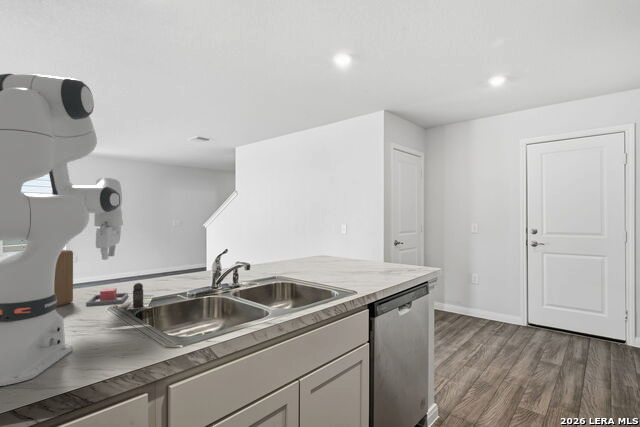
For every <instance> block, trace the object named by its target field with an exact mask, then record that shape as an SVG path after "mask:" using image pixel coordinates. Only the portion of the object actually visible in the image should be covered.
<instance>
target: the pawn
mask: <svg viewBox="0 0 640 427" xmlns="http://www.w3.org/2000/svg"><path fill="white" fill-rule="evenodd" d="M143 288H144V286H143V284H142V283H140V282H137V283H135V284H134V285H133V289H132V301H133V308H139V309H142V308H141V307H143V295H144V289H143Z"/></svg>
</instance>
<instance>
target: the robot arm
mask: <svg viewBox="0 0 640 427" xmlns="http://www.w3.org/2000/svg"><path fill="white" fill-rule="evenodd" d="M94 104H95V101H94V97H93V94H92V91H91V89H90V88H89V86H88V85H87V84H86V83H84V82H83V80H82V81H81V80H79V79H77V78H76V79H75V78H71V77H59V76H51V75H42V74H36V73H32V74H31V73H25V74H24V73H21V74H19V73H18V74H13V73H3V74H2V73H1V74H0V241H17V240H18V241H20V240H26V241H27V243H26V245H25V246H24V248H23V249H22V250H21V251H19V252H17V253H15V254H12V255H10V256H8V257H6V258H4V259H2V260H1V261H0V387H2V386H9V385H12V384H17V383H22V382H25V381H27V380H31V379H34V378H36V377H37V376H38V375H40V374H41V373H43V372H44V371H45V370H47V369H48V368H49V367H51V366H52V365H54V364H55V363H57V362H58V361H60V359H63V357H65V356H66V355H68V354H70V353H71V352H72V351H73V346H72V345H70V344H66V333H65V321H64V317H63V316H62V315H60V314H59V313H58V312H57V311H56V308H57V298H56V294H55V293H54V279H55V269H56V263H57V259H58V257H59V255H60V253H61V251H62V250H64V248H65V247H66V246H67V244H69V243H70V241H71V240H72V239H75V237H76V236H78V235H80V234H81V233H82V232H83V231H84V230H85V229H86V227H87V226H88V224H89V221H90V214H94V217H93V218H94V224H93V226H94V227H97V228H96V232H95V248H96V249H100V254H101V260H103V261H104V260H105V261H107V260H108V259H109V257H114V256H115V254H116V253H115V251H116V247H117V246H116V245H117V244H119V243H120V240H121V233H122V232H121V231H122V230H121V229H122V225H124V222H123V212H122V203H123V192H122V185H121V182H120V181H119V180H117V179H115V178H110V177H100V178H98V179H96V182H95V184H94V185H75V184H73V183H72V182H71V181H70V174H69V170H68V163H70V162H73V161H77V160H80V159H83V158H85V157H87V156H88V155H90V154H91V153H92V152H94V150H95V149H96V146H97V144H98V139H97V138H98V137H97V133H96V130H95V127H94V124H93V122H92V119H91V117H90V115H91V114H93V111H94V108H95V107H94ZM48 174H49V175H48ZM46 175H48V176H49V180H50V186H51V189H52V190H51V191H52V194H50V193H49V194H48V193H47V194H46V193H45V194H44V193H43V194H42V193H41V194H40V193H24V192H22V188H23V185H24V184H25V183H27V182H30V181H33V180H37V179H40V178H42V177H45V176H46Z"/></svg>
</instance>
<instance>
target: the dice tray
mask: <svg viewBox="0 0 640 427" xmlns="http://www.w3.org/2000/svg"><path fill="white" fill-rule="evenodd" d="M127 297H129V293H128V292H122V293H119V292H118V293H116V298H120V299H116V300H109V301H100V300H98V301H97V299H100V294H94V296H92V297H91V298H90V299H89V300H88V301H86V302H85V306H86V307H92V306H93V307H94V306H104V305H105V306H106V305H116V304H123V302H124V301H125V300H126V299H127Z"/></svg>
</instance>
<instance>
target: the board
mask: <svg viewBox="0 0 640 427" xmlns="http://www.w3.org/2000/svg"><path fill="white" fill-rule="evenodd" d="M154 296H155V294H154V293H153V294H143V307H141V308H133V300H132V302H131V303H130V304H129V306H128V307H127V308H126V310H138V309H148V308H149V306H150V303H151V301H152V299H153V297H154Z"/></svg>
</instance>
